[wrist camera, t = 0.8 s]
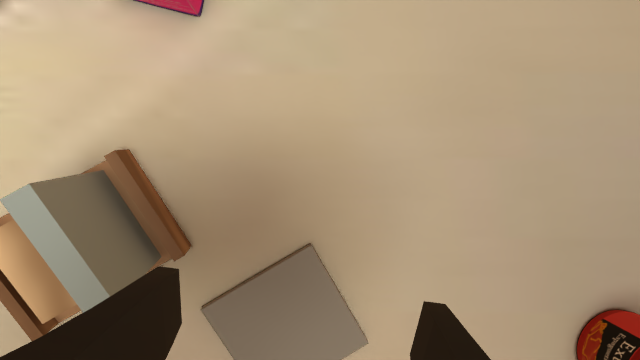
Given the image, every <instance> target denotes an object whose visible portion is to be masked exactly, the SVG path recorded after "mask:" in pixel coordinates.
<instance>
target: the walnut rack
mask: <svg viewBox="0 0 640 360" xmlns="http://www.w3.org/2000/svg"><path fill="white" fill-rule="evenodd" d="M104 157H105V158H106V161H104V162H102V163H100V164H99V165H97V166H95V167H93V168H91V169H89V170H88V171H86V172H84V173H82V174H85V173H90V172H95V171H101V170H104V172H105V173H106V175H107V176H108V178H109V179H110V181H111V182H112V184H113V185H114V187H115V188H116V189H117V191H118V192H119V194H120V195H121V197H122V198H123V200H124V201H125V203H126V204H127V206H128V207H129V209H130V210H131V212H132V213H133V215H134V216H135V218H136V219H137V221H138V222H139V224H140V225H141V227H142V228H143V230H144V231H145V233H146V234H147V236H148V237H149V239H150V240H151V242H152V243H153V244H154V246H155V247H156V249H157V250H158V252H159V253H160V255H161V256H162V257H161V258H160V259H159V260H158V261H157V262H156V263H155V264H154V265H153V267H152V268H151V269H150V270H149V271H151V270H152V269H154V268H156V267H158V266H159V265H161V264H163V263H165V262H166V261H168V260H170V259H173V260H174V261H176V260H177V259H179V258H181V257H183V256H184V255H185V254H186V253H187V251H188V250H189V249H190V247H191V244H190V243H189V241H188V239H187V238H186V236H185V235H184V233H183V232H182V230H181V229H180V227H179V226H178V224H177V223H176V221H175V220H174V218H173V216H172V215H171V213H170V212H169V210H168V209H167V207H166V206H165V204H164V203H163V201H162V200H161V198H160V197H159V195H158V193H157V192H156V190H155V189H154V187H153V186H152V184H151V183H150V181H149V180H148V178H147V177H146V175H145V174H144V172H143V170H142V169H141V167H140V166H139V164H138V163H137V161H136V160H135V158H134V157H133V155H132V154H131V152H130V150H115V151H113V152H111V153H109V154H108V155H106V156H104ZM11 220H13V217H12V216H11V215H10V213H9V214H7V215H5V216H3V217H1V218H0V227H1V226H2V225H4V224H6V223H8V222H10V221H11ZM149 271H148V272H149ZM0 301H1V302H2V303H3V305H4V306H5V307H6V308H7V310H8V311H9V312H10V314H11V315H12V316H13V317H14V319H15V320H16V321H17V322H18V324H19V325H20V326H21V328H22V329H23V330H24V331H25V333H26V334H27V335H28V337H29V338H30V339H31V340H32V341H34V340H36V339H38V338H39V337H41V336H43V335H45V334H47V333H48V332H49V331H50V330H51V329H52V328H53V327H55V326H56V325H57V324H58V323H60V322H61V321H63V320H65V319H67V318H68V317H70V316H72V315H74V314H75V313H77V312H79V311H81V309H80V308H79V306H78V305H75V306H73V307H72V308H70V309H68V310H66V311H64V312H63V313H61V314H59V315H57V316H56V317H54V318H52V319H50V320H49V321H47V322H45V323H43V324H42V323H41V321H40V320H39V319H38V317H37V316H36V315H35V314H34V312H33V311H32V310H31V308H30V307H29V306H28V305H27V303H26V302H25V301H24V299H23V298H22V297H21V295H20V294H19V293H18V292H17V290H16V289H15V288H14V286H13V285H12V284H11V282H10V281H9V280H8V279H7V277H6V276H5V275H4V273H3V272H2V271H1V269H0Z"/></svg>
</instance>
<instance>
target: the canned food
mask: <svg viewBox="0 0 640 360" xmlns="http://www.w3.org/2000/svg"><path fill="white" fill-rule="evenodd" d="M577 356H578V360H640V315H638V314H636V313H633V312H628V311H622V310H610V311H607V312H604V313H601V314H599V315H597V316H596V317H595V318H593V319H592V320H591V321H590V322H589V323H588V324H587V325H586V326H585V328H584V329H583V331H582V333H581V335H580V337H579V341H578V344H577Z"/></svg>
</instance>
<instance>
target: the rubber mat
mask: <svg viewBox="0 0 640 360" xmlns="http://www.w3.org/2000/svg"><path fill="white" fill-rule="evenodd" d="M201 311H202V313H203V314H204V316H205V317H206V319H207V320H208V322H209V323H210V325H211V326H212V328H213V329H214V331H215V332H216V334H217V335H218V336H219V338H220V339H221V341H222V342H223V344H224V345H225V347H226V348H227V350H228V351H229V353H230V354H231V356H232V357H233V359H234V360H342V359H344V358H345V357H347V356H348V355H350V354H352V353H353V352H355V351H357V350H358V349H360V348H362V347H363V346H365V345H366V344H368V341H367V339H366V337H365V336H364V334H363V332H362V330H361V329H360V327H359V325H358V324H357V322H356V320H355V318H354V317H353V315H352V313H351V312H350V310H349V308H348V306H347V305H346V303H345V301H344V300H343V298H342V296H341V294H340V293H339V291H338V289H337V288H336V286H335V284H334V282H333V281H332V279H331V277H330V276H329V274H328V272H327V270H326V269H325V267H324V265H323V264H322V262H321V260H320V258H319V257H318V255H317V253H316V252H315V250H314V248H313V246H312V245H311V243H310V244H308V245H307V246H305V247H303V248H302V249H300V250H298V251H296V252H295V253H293V254H291V255H290V256H288V257H286V258H284V259H283V260H281V261H279V262H278V263H276V264H274V265H272V266H271V267H269V268H267V269H266V270H264V271H262V272H260V273H259V274H257V275H255V276H254V277H252V278H250V279H248V280H247V281H245V282H243V283H242V284H240V285H238V286H236V287H235V288H233V289H231V290H230V291H228V292H226V293H224V294H223V295H221V296H219V297H218V298H216V299H214V300H213V301H211V302H209V303H207V304H206V305H204V306H202V308H201Z"/></svg>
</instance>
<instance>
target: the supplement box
mask: <svg viewBox="0 0 640 360" xmlns="http://www.w3.org/2000/svg"><path fill="white" fill-rule="evenodd" d="M135 1H139V2H143V3H147V4H151V5H154V6H158V7H162V8H166V9H170V10H174V11H178V12H182V13H186V14H190V15H194V16H200V15H201V12H202V7H203V2H204V0H135Z"/></svg>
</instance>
